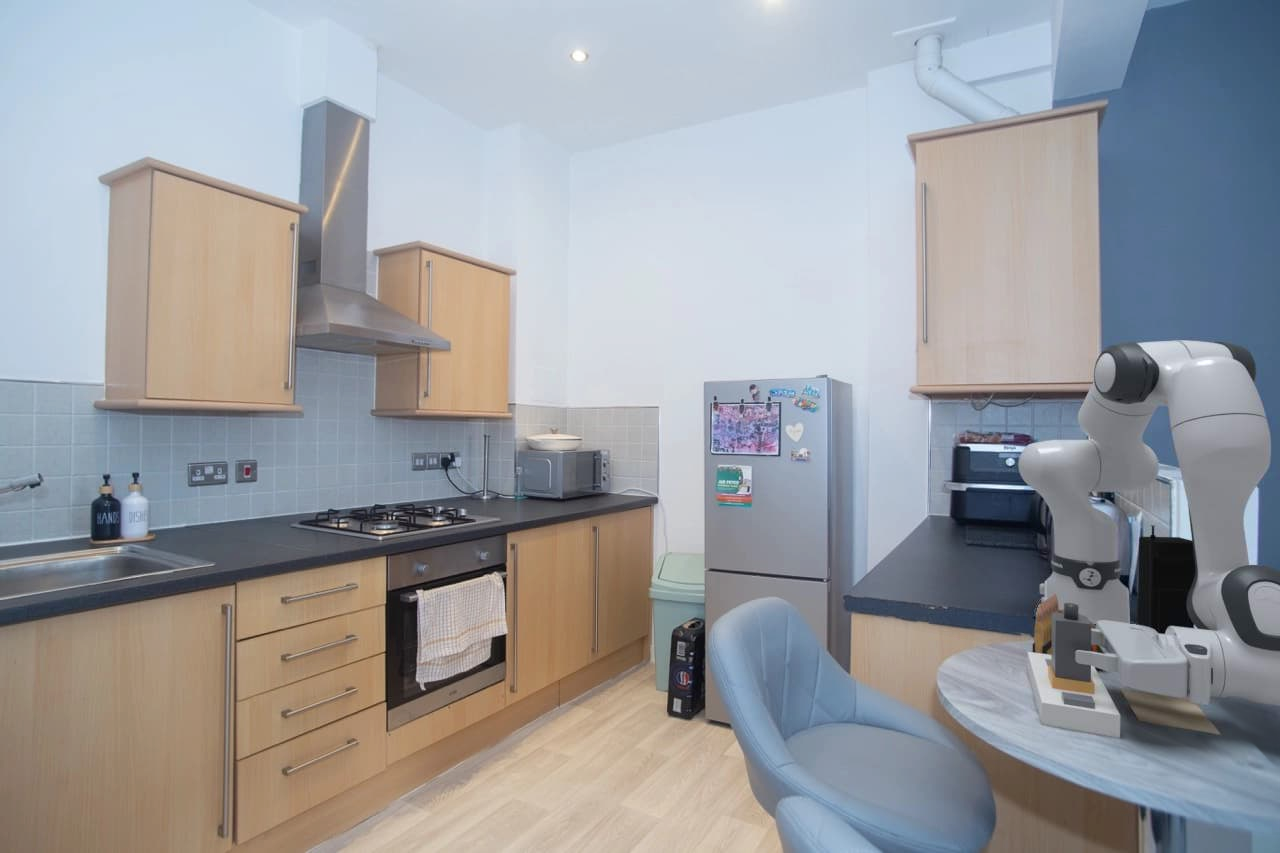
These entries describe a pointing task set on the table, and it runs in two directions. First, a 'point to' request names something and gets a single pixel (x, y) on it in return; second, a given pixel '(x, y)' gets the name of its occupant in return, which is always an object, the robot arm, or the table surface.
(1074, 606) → the plug
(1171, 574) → the portable radio
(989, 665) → the table surface
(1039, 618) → the ammunition clip
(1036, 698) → the power strip
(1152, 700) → the oak board
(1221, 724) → the table surface
